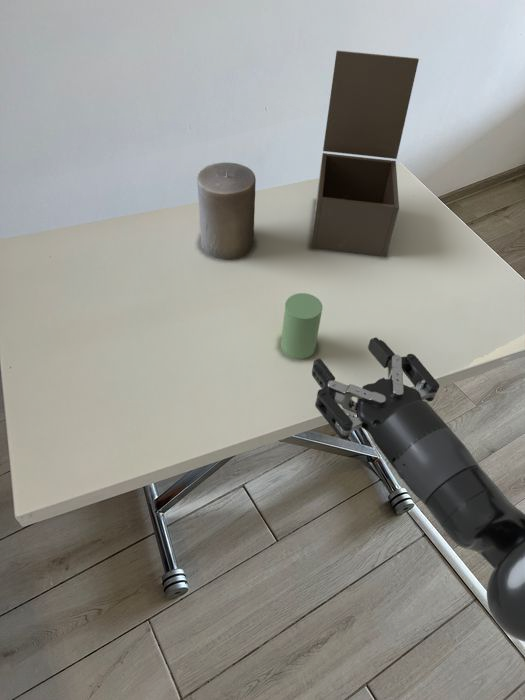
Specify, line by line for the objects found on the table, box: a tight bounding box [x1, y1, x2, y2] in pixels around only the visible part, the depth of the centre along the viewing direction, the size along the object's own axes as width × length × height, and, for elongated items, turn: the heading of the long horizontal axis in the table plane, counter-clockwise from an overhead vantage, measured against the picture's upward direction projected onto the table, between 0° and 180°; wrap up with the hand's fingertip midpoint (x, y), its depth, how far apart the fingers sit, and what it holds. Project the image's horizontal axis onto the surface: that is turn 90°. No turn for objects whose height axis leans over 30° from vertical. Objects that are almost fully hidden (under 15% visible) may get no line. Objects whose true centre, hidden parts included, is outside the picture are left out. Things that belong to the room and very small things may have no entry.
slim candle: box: [280, 292, 323, 360], centre depth 77 cm, size 5×5×9 cm
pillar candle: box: [196, 162, 257, 261], centre depth 91 cm, size 10×10×15 cm
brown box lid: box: [322, 50, 420, 160], centre depth 93 cm, size 16×14×1 cm
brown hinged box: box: [310, 152, 400, 258], centre depth 97 cm, size 16×14×11 cm
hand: (343, 352), depth 68 cm, fingers open, 8 cm apart
